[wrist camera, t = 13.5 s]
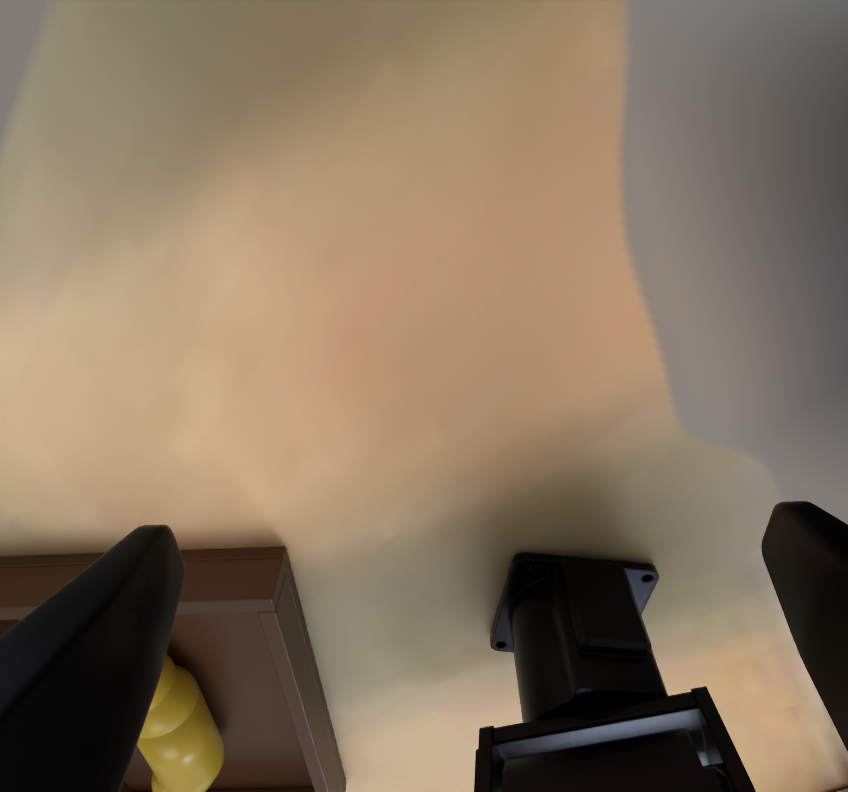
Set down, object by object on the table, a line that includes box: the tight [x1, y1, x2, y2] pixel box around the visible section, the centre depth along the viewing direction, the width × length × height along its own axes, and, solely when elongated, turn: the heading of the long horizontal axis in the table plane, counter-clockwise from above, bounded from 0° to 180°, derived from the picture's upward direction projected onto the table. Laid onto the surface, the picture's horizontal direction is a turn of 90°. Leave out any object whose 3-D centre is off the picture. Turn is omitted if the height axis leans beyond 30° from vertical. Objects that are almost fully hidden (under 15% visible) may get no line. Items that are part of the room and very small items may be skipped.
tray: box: [0, 547, 346, 792], centre depth 31 cm, size 21×14×3 cm
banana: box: [137, 654, 224, 792], centre depth 30 cm, size 15×6×3 cm, turn 3°
